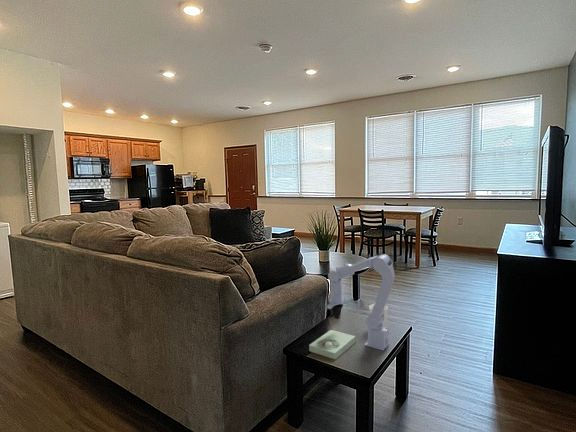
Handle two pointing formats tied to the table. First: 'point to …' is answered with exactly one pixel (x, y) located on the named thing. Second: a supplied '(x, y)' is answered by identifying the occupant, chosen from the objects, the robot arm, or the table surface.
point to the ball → (328, 344)
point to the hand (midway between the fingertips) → (336, 318)
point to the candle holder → (384, 314)
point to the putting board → (339, 344)
